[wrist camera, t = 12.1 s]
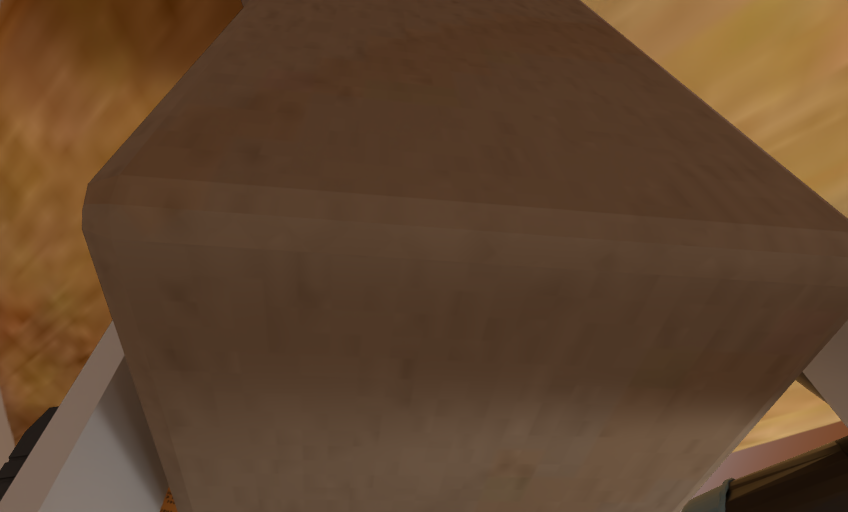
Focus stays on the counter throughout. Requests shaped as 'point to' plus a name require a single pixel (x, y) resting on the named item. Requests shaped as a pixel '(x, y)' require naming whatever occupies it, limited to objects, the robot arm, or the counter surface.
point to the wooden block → (452, 265)
